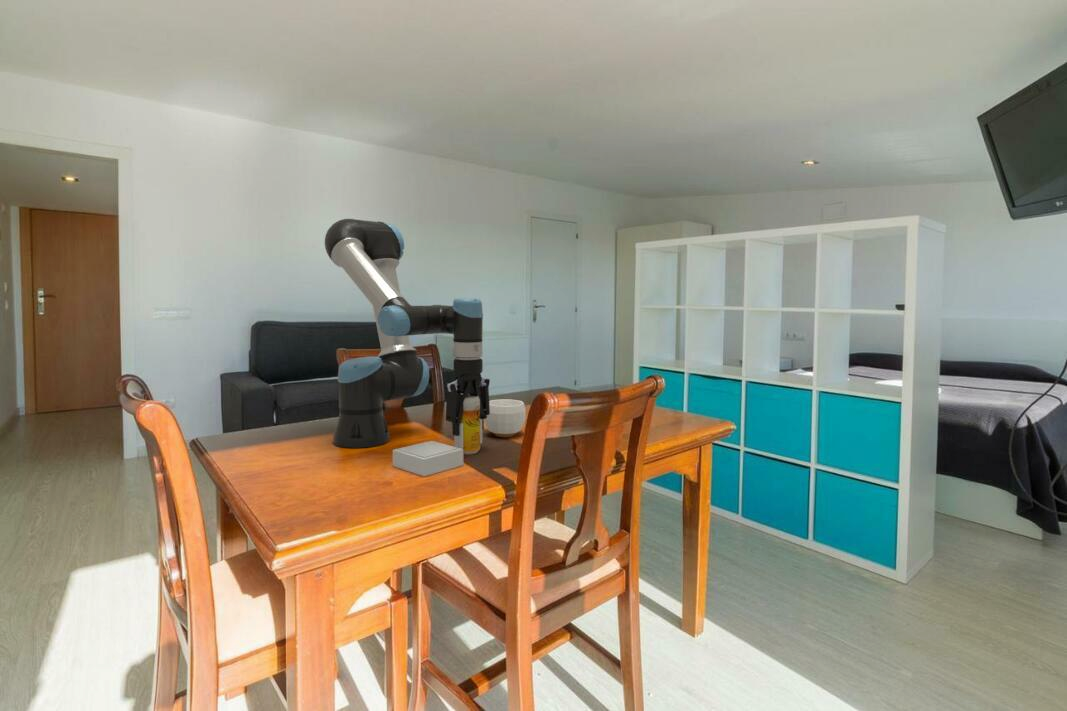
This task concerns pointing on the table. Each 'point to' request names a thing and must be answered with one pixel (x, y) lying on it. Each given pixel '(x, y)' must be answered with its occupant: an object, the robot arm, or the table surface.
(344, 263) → the robot arm
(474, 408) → the yellow labeled bottle
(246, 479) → the table surface
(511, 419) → the cup
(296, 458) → the table surface
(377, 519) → the table surface
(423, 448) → the pedestal
